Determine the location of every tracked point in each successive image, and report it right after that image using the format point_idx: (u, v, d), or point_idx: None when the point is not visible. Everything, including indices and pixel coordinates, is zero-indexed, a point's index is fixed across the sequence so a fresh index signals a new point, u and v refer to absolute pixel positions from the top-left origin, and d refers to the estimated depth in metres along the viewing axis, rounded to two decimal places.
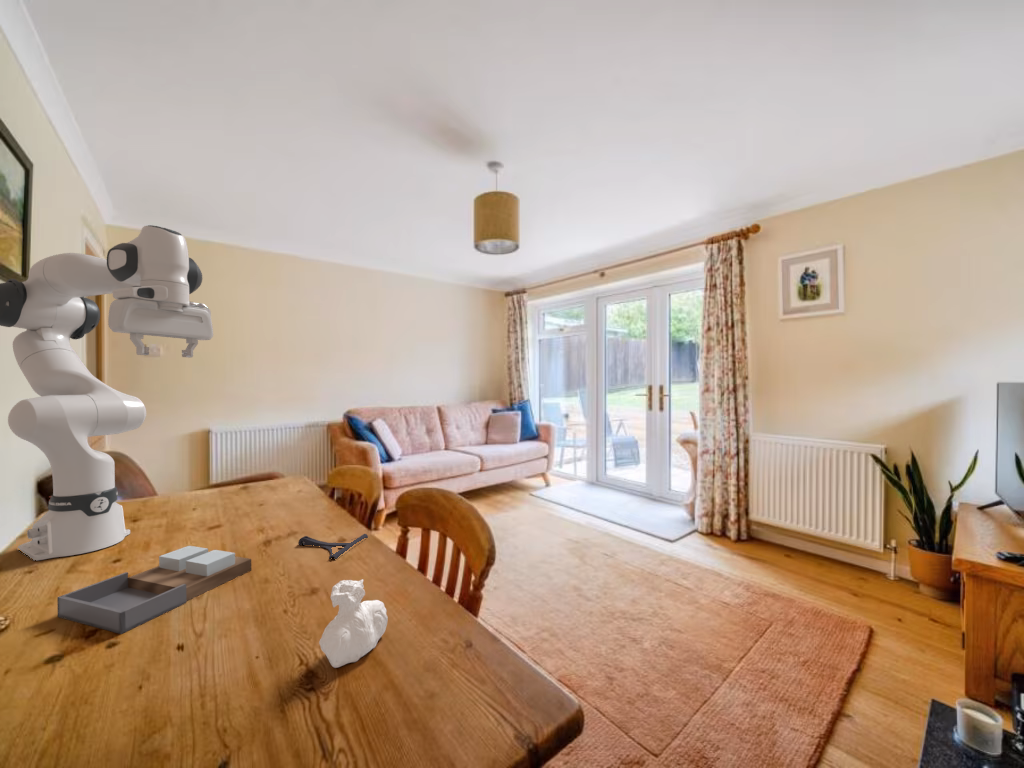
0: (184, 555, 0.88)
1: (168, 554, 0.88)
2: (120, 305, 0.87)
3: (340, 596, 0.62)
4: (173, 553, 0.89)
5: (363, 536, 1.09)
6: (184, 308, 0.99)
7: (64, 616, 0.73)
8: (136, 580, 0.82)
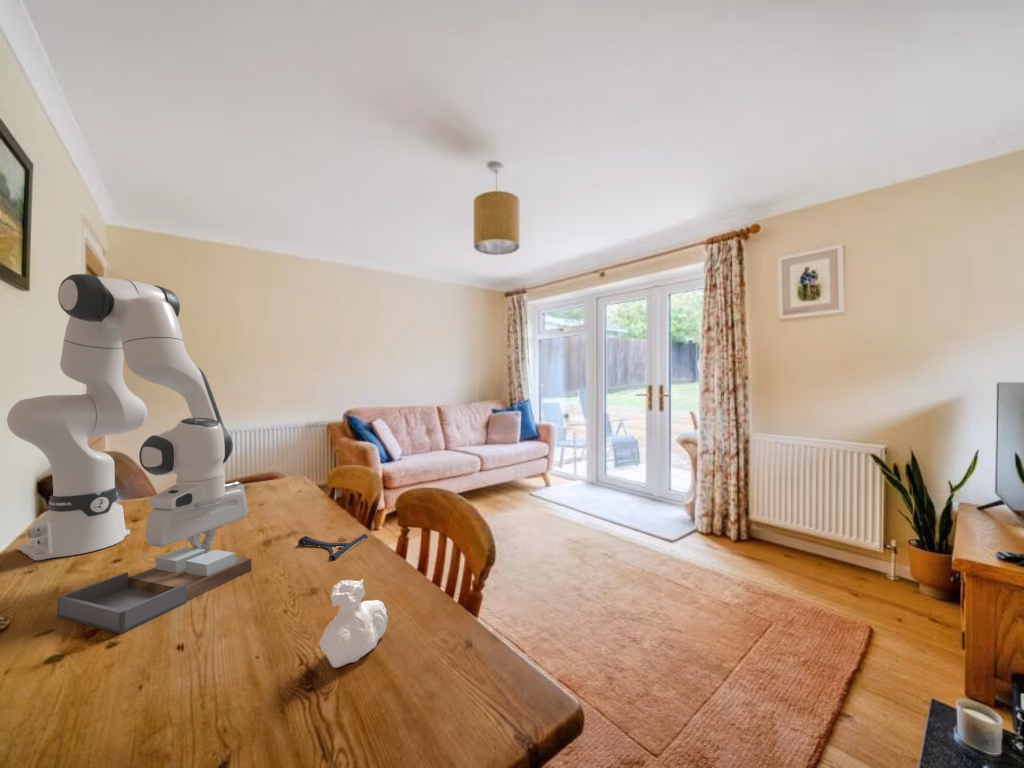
0: (181, 556, 0.87)
1: (165, 555, 0.88)
2: (158, 521, 0.84)
3: (340, 596, 0.62)
4: (170, 554, 0.88)
5: (363, 536, 1.09)
6: (220, 497, 0.95)
7: (64, 616, 0.73)
8: (136, 580, 0.82)
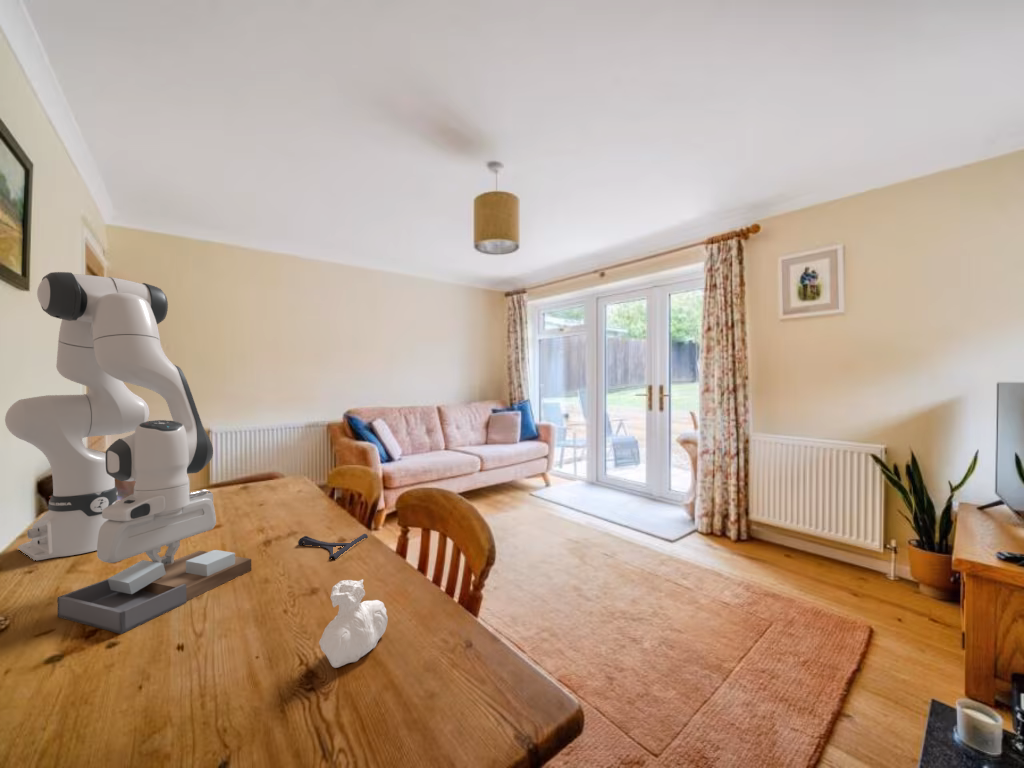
0: (136, 575, 0.79)
1: (118, 575, 0.80)
2: (110, 534, 0.76)
3: (340, 596, 0.62)
4: (123, 573, 0.80)
5: (363, 536, 1.09)
6: (184, 506, 0.88)
7: (64, 616, 0.73)
8: None
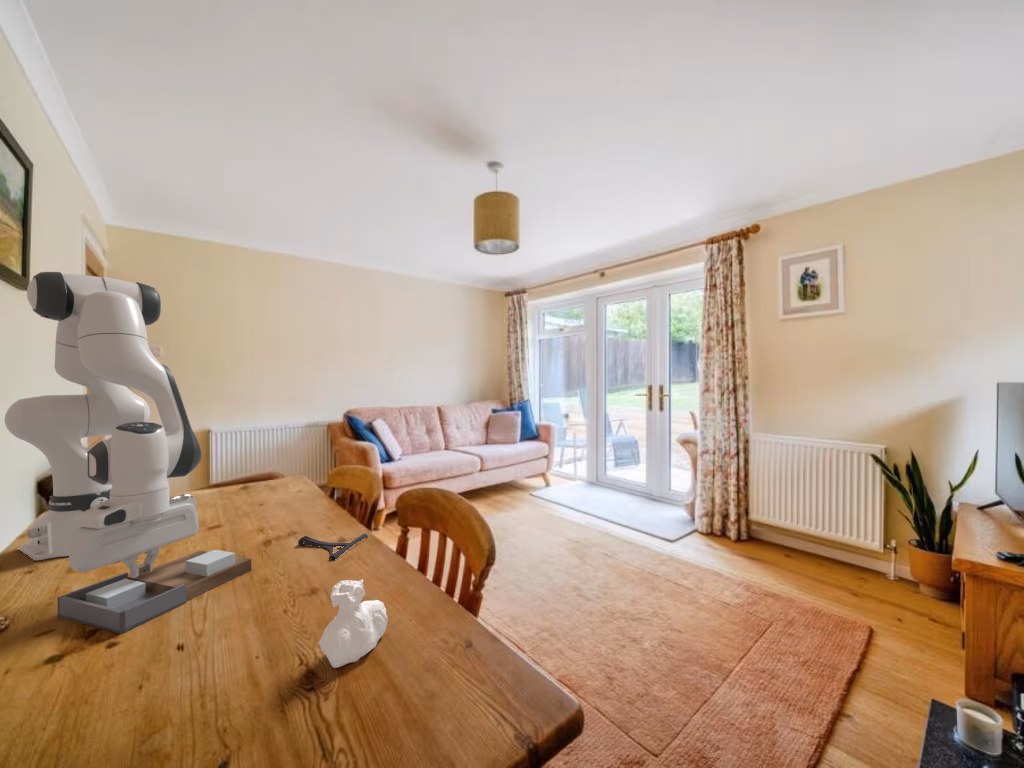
0: (115, 592, 0.76)
1: (97, 590, 0.77)
2: (82, 542, 0.72)
3: (340, 596, 0.62)
4: (103, 589, 0.78)
5: (363, 536, 1.09)
6: (163, 512, 0.84)
7: (64, 616, 0.73)
8: (136, 580, 0.82)
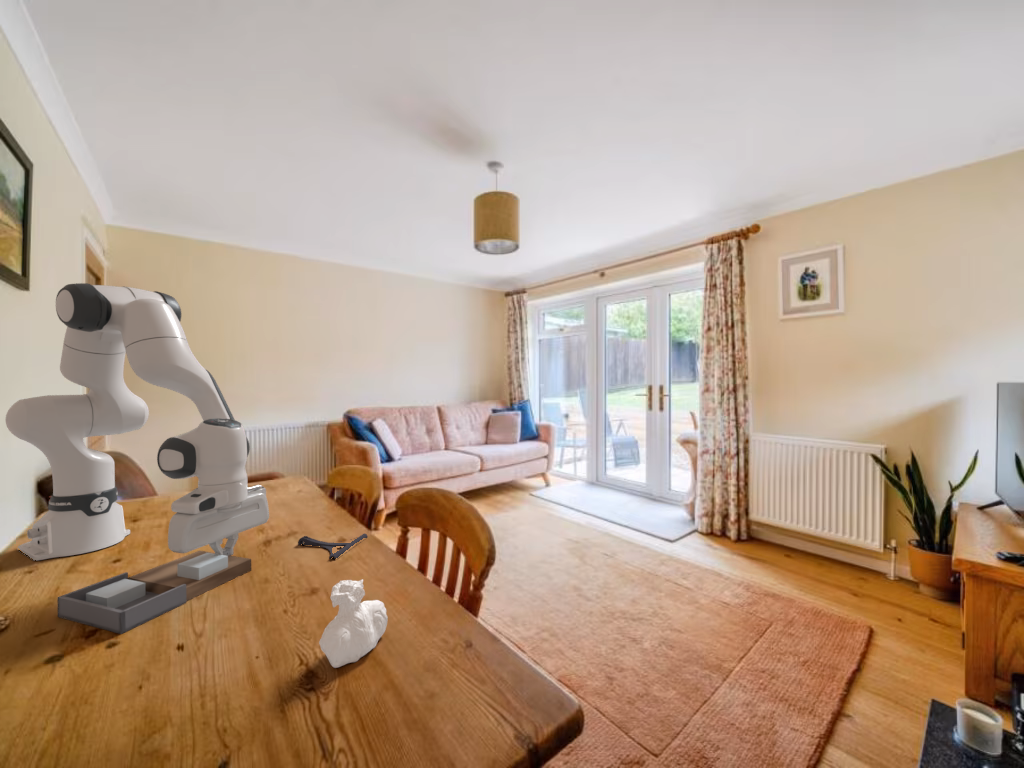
0: (115, 592, 0.76)
1: (97, 590, 0.77)
2: (181, 526, 0.80)
3: (340, 596, 0.62)
4: (103, 589, 0.78)
5: (363, 536, 1.09)
6: None
7: (64, 616, 0.73)
8: (136, 580, 0.82)
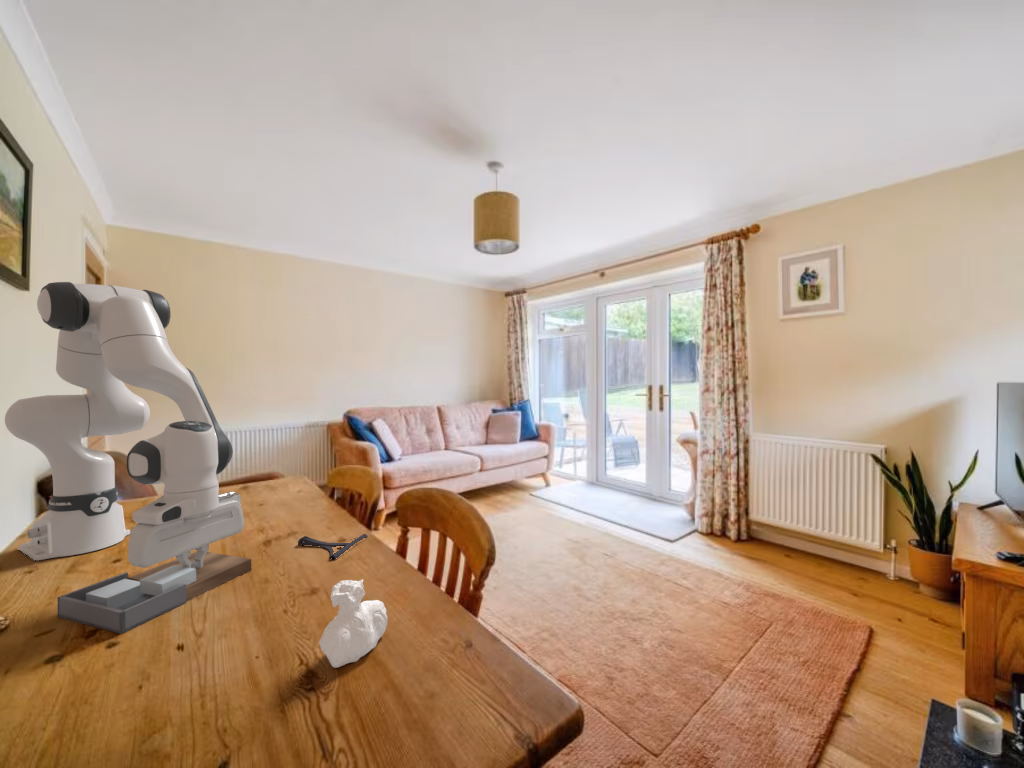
0: (115, 592, 0.76)
1: (97, 590, 0.77)
2: (142, 538, 0.74)
3: (340, 596, 0.62)
4: (103, 589, 0.78)
5: (363, 536, 1.09)
6: (213, 509, 0.86)
7: (64, 616, 0.73)
8: (136, 580, 0.82)
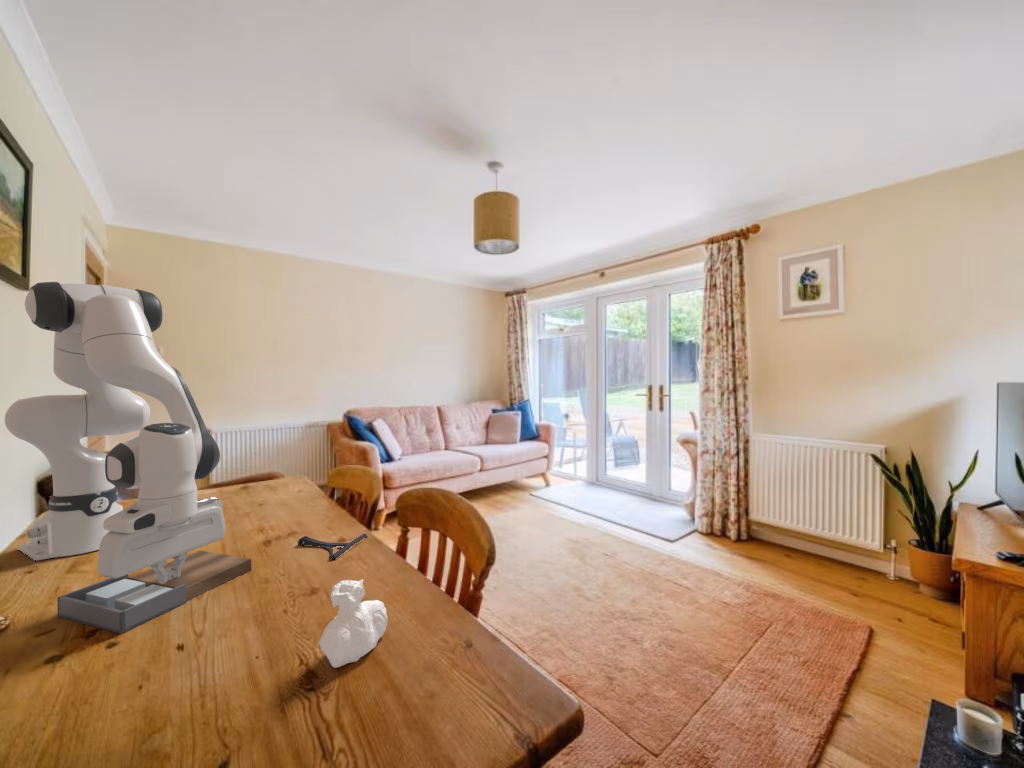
0: (115, 592, 0.76)
1: (97, 590, 0.77)
2: (112, 548, 0.70)
3: (340, 596, 0.62)
4: (103, 589, 0.78)
5: (363, 536, 1.09)
6: (191, 516, 0.82)
7: (64, 616, 0.73)
8: (136, 580, 0.82)
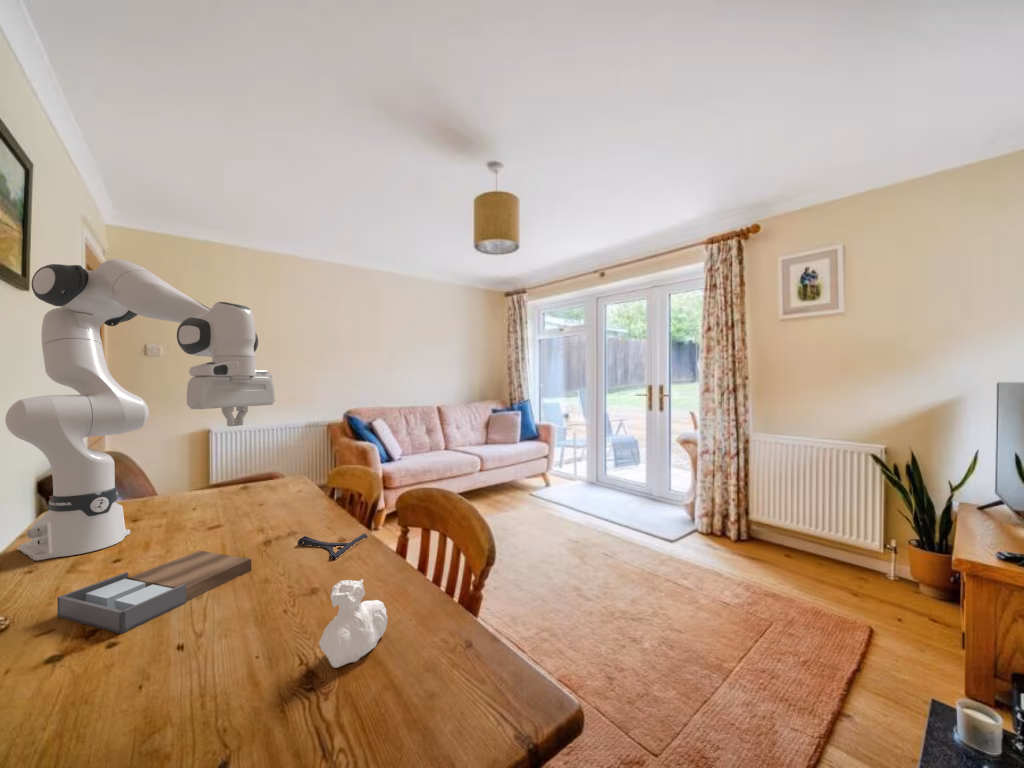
0: (115, 592, 0.76)
1: (97, 590, 0.77)
2: (198, 385, 0.91)
3: (340, 596, 0.62)
4: (103, 589, 0.78)
5: (363, 536, 1.09)
6: (251, 378, 1.03)
7: (64, 616, 0.73)
8: (136, 580, 0.82)
